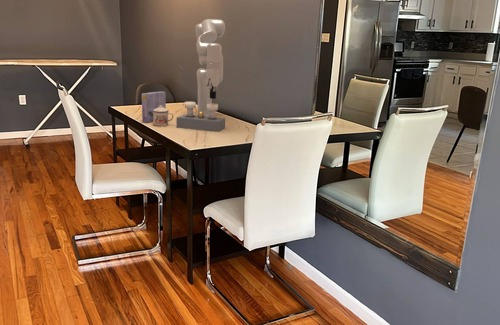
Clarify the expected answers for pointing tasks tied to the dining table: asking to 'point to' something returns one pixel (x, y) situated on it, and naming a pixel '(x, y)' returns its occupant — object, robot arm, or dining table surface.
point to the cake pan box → (151, 104)
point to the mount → (200, 123)
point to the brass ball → (200, 114)
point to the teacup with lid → (161, 116)
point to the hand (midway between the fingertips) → (212, 98)
